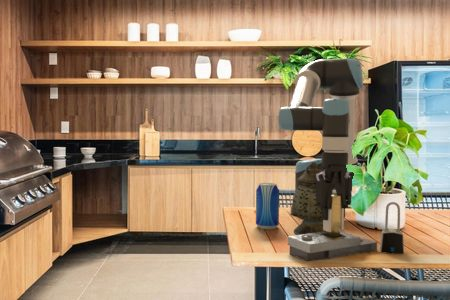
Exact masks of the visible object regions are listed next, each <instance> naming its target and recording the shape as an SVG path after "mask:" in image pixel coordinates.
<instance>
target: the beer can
mask: <svg viewBox="0 0 450 300" xmlns="http://www.w3.org/2000/svg"><path fill="white" fill-rule="evenodd" d="M255 194H256V195H255V198H256V199H255V225H256V226H257V228H258V229H261V230H273V229H274V230H275V229H277V228H278V226H279V223H280V189H279V187H278V185H277V183H273V182H260V183H258V186H257V187H256V190H255Z"/></svg>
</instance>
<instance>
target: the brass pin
mask: <svg viewBox="0 0 450 300" xmlns="http://www.w3.org/2000/svg"><path fill="white" fill-rule="evenodd" d="M329 209H331V210H332V220H331V232H328V231H326V236H327V237H330V238H338V237H340V231H341V230H340V221H341V195H336V194H334V193H332V197H331V203H330V208H329Z"/></svg>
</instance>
